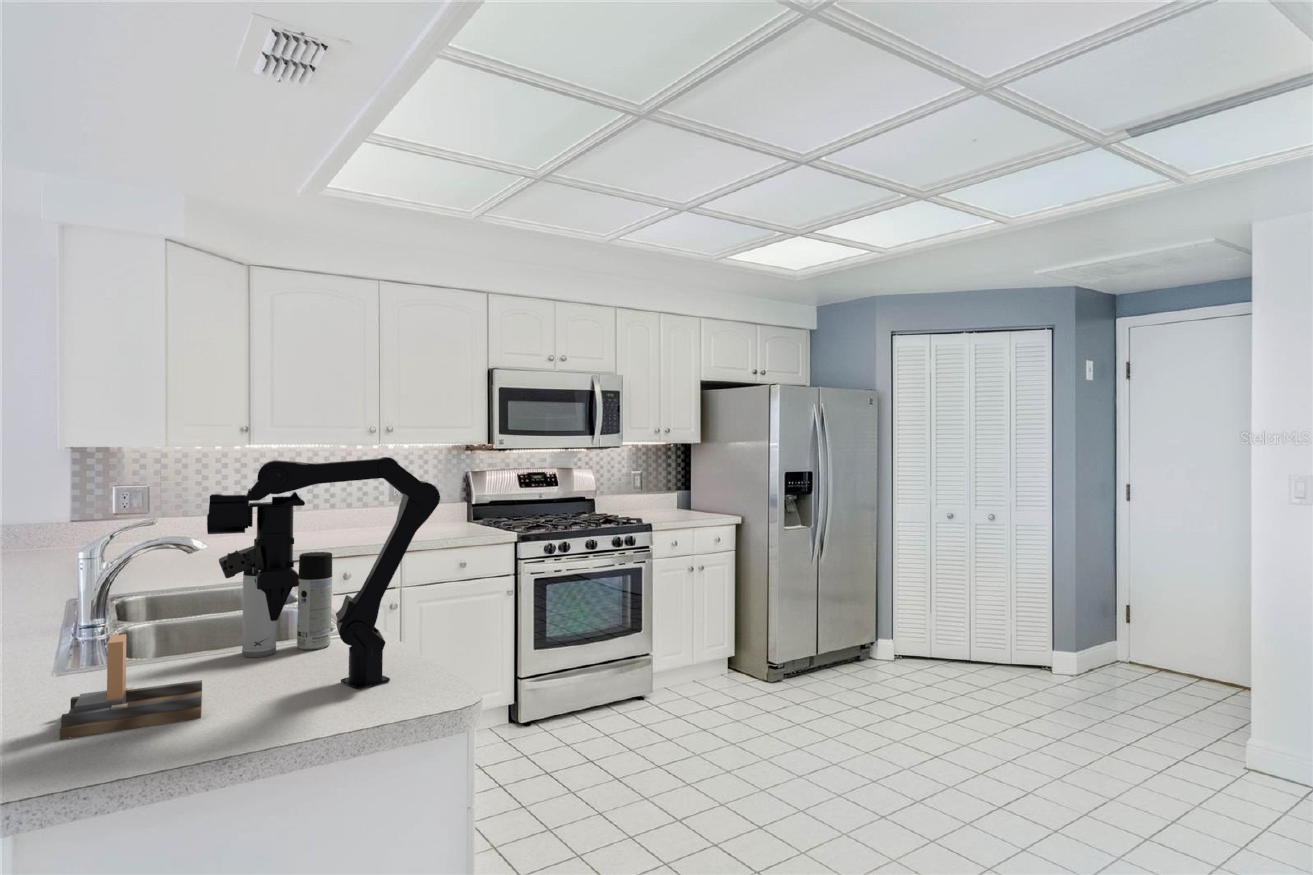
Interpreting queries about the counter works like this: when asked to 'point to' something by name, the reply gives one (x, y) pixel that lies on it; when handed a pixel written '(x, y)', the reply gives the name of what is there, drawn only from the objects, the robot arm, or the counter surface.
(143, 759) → the counter surface
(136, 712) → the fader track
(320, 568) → the spray can
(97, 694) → the fader tab
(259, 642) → the travel mug
